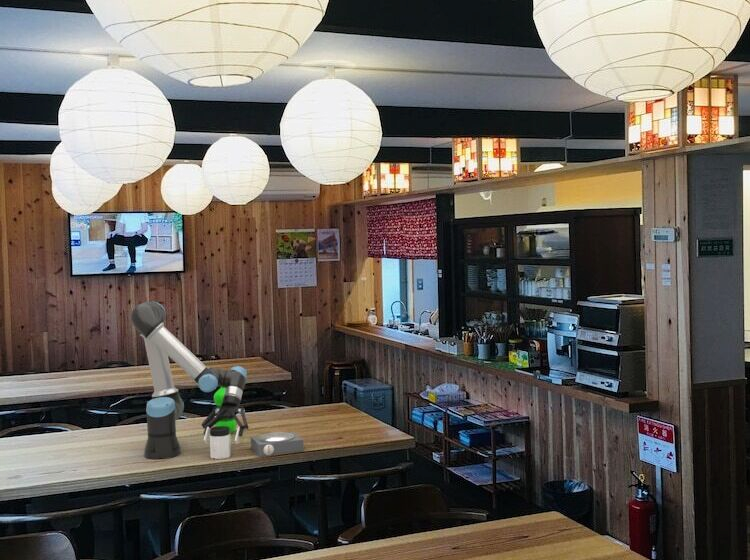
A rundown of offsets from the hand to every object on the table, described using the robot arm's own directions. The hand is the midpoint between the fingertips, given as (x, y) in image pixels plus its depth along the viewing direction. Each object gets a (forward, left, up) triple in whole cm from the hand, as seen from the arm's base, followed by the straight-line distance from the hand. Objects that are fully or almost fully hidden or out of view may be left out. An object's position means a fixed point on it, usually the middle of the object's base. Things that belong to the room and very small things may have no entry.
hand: (220, 442), depth 338 cm
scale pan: (+24, +1, -1) cm, 24 cm away
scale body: (+24, +1, -6) cm, 25 cm away
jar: (0, +1, -7) cm, 7 cm away
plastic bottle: (+10, +42, -6) cm, 44 cm away
